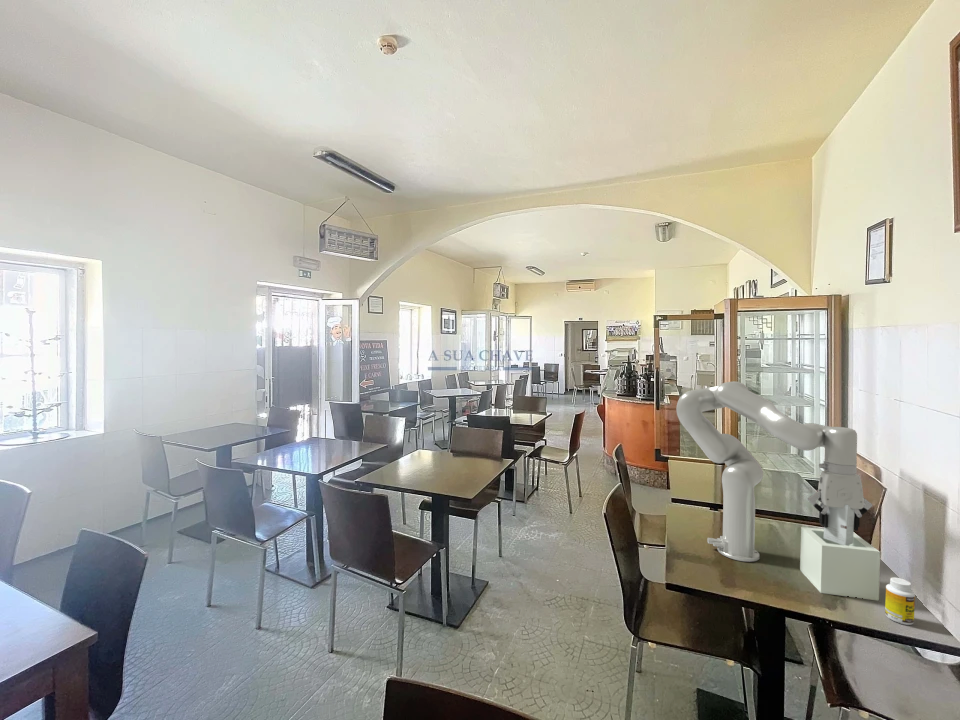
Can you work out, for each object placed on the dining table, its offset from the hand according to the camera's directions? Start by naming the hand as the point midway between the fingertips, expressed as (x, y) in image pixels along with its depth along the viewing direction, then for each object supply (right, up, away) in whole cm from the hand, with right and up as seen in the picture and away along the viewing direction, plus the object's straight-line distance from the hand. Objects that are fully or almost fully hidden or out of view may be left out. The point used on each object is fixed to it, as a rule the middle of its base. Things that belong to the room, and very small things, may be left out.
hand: (838, 527), depth 133 cm
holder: (0, -18, 0) cm, 18 cm away
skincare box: (0, -5, 0) cm, 5 cm away
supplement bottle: (+2, -18, -17) cm, 25 cm away
